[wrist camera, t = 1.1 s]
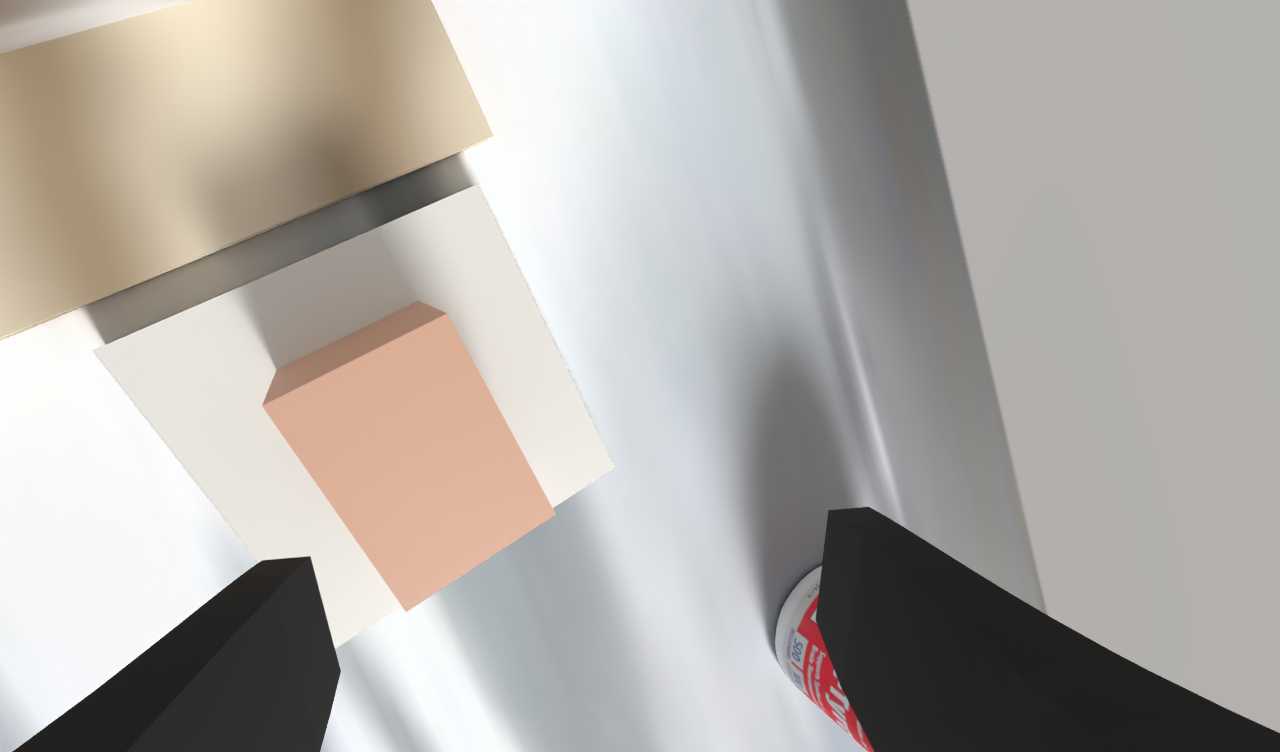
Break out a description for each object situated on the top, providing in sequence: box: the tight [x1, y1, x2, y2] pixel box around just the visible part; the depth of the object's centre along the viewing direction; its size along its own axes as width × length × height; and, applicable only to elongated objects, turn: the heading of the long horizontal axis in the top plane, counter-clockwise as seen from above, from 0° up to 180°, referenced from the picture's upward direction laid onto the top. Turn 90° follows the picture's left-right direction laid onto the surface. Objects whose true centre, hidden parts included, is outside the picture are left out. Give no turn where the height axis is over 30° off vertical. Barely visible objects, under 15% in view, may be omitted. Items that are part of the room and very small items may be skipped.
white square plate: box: [92, 184, 615, 649], centre depth 18 cm, size 10×10×1 cm
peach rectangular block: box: [262, 301, 556, 612], centre depth 16 cm, size 4×6×4 cm
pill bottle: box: [775, 566, 874, 752], centre depth 24 cm, size 6×6×11 cm
